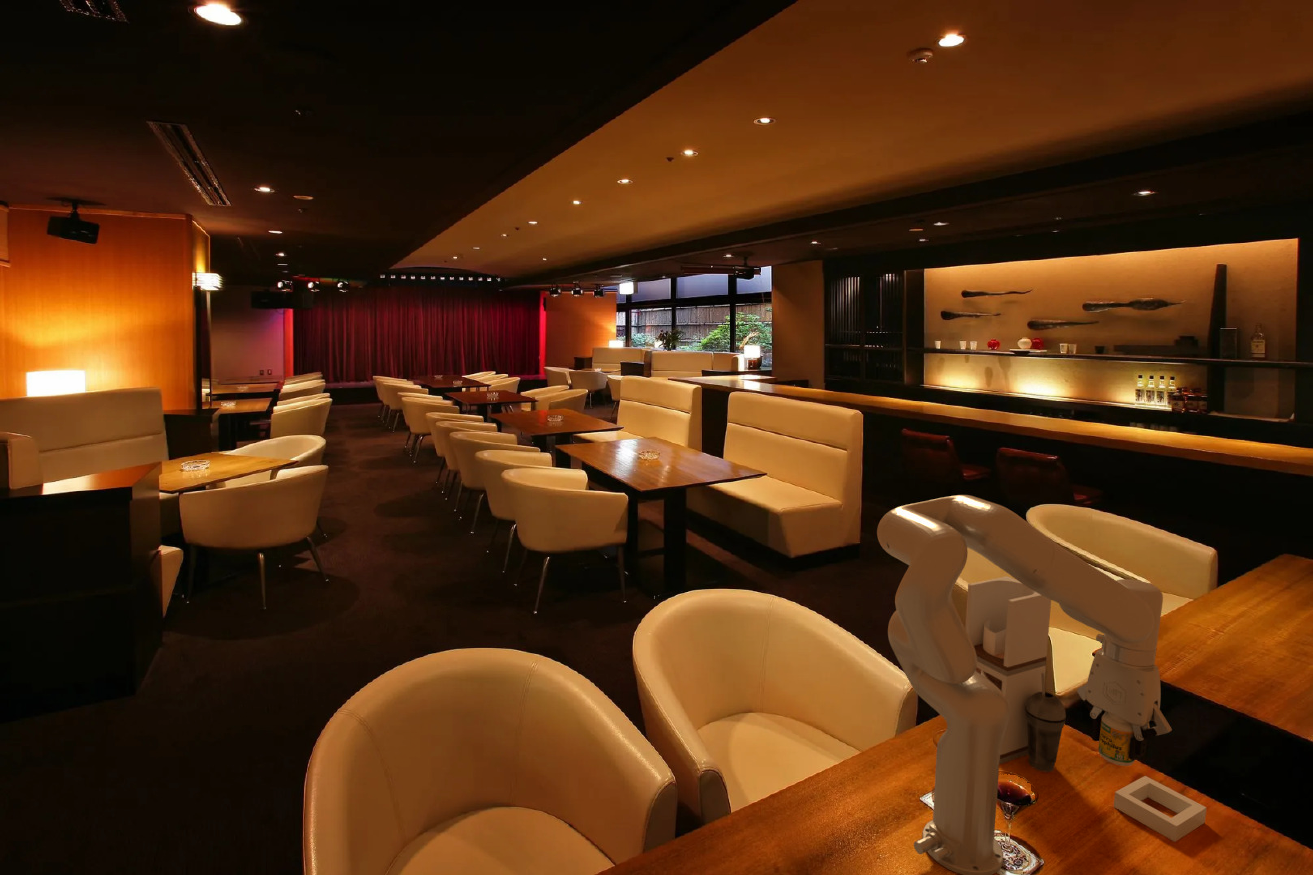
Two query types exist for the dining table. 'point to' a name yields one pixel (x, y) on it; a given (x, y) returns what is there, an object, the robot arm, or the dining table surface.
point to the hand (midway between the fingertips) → (1116, 747)
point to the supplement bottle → (1115, 740)
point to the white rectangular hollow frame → (1171, 828)
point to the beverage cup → (1044, 728)
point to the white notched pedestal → (1010, 648)
